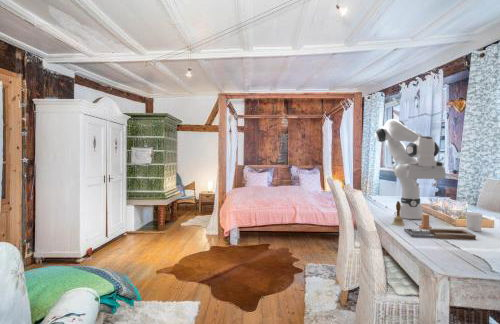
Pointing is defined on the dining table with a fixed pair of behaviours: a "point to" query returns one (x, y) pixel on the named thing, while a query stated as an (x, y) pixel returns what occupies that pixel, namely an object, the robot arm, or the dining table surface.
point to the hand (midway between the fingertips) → (425, 186)
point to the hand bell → (398, 216)
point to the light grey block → (425, 232)
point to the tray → (419, 235)
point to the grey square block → (416, 231)
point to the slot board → (452, 234)
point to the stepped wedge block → (425, 222)
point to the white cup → (474, 221)
